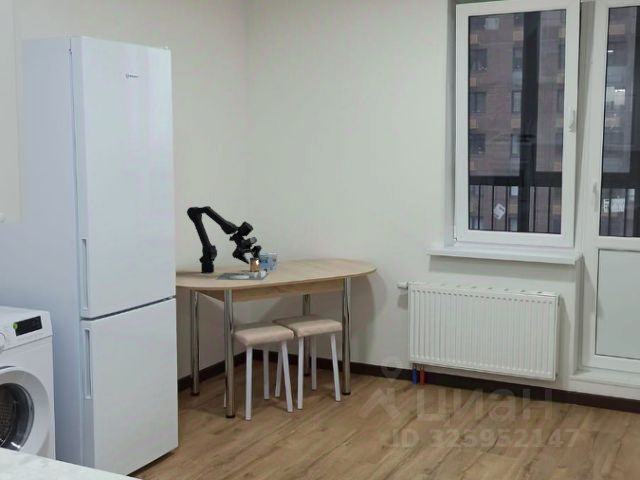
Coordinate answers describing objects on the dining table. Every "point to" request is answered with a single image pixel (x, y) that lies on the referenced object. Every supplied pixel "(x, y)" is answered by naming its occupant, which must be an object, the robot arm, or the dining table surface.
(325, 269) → the dining table surface
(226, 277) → the charcoal mat
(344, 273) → the dining table surface
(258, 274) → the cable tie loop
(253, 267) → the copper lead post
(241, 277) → the sage pad
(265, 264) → the light bulb box
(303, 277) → the dining table surface
